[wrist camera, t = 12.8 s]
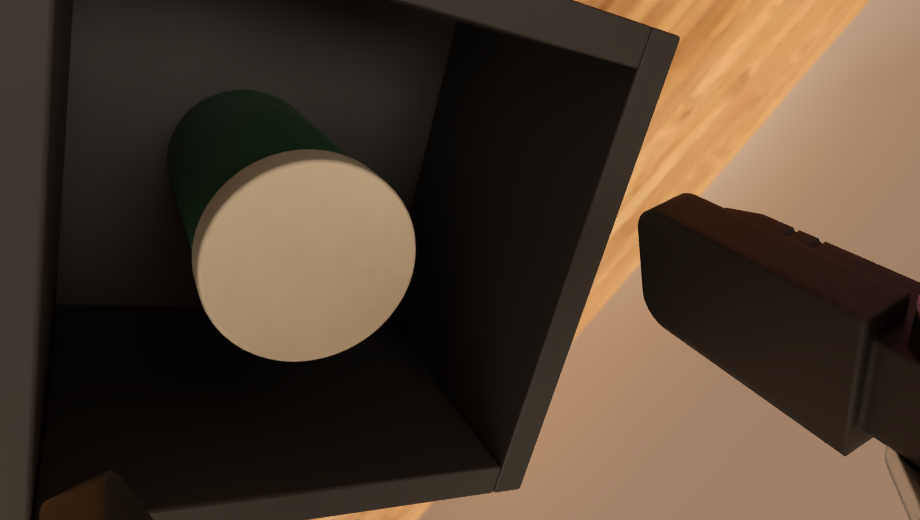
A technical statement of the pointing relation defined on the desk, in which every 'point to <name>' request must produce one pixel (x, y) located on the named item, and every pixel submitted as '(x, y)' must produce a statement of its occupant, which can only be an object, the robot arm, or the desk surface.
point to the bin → (362, 138)
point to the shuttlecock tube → (286, 229)
